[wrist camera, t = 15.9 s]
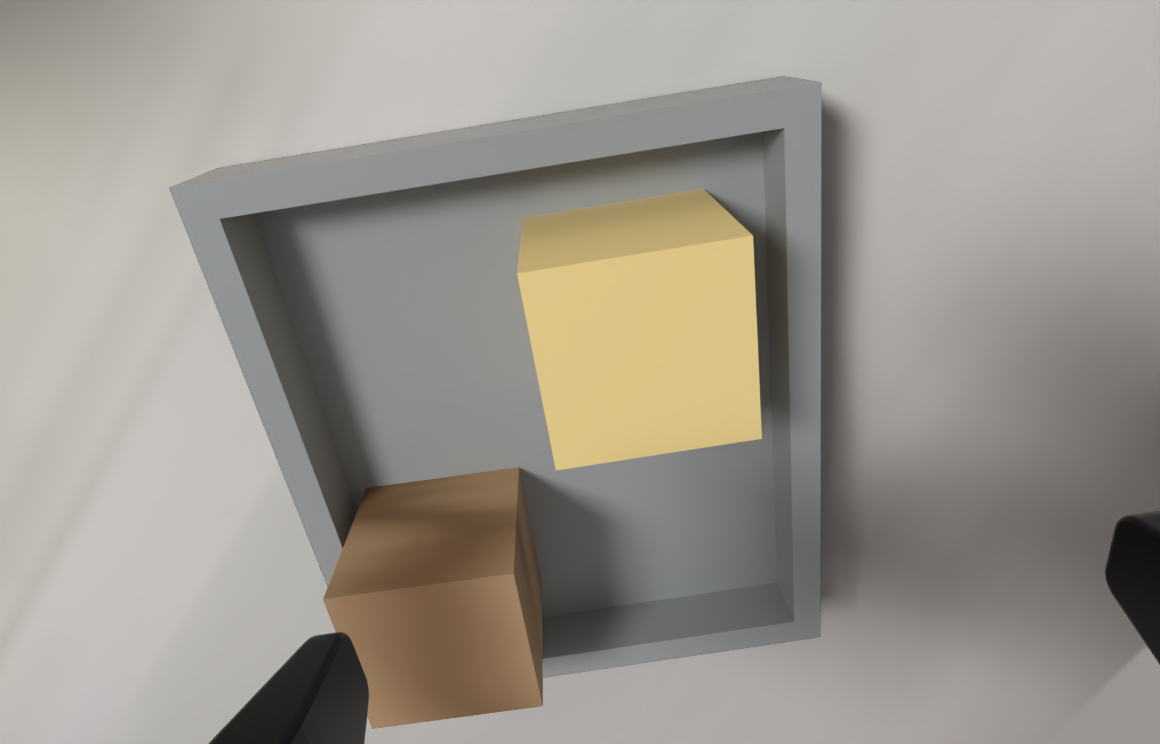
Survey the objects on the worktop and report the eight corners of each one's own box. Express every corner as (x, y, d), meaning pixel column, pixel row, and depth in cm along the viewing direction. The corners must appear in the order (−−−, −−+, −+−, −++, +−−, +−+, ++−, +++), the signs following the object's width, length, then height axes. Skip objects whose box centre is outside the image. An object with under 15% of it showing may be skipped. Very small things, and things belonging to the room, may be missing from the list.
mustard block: (553, 379, 19) (556, 470, 15) (522, 218, 17) (517, 273, 13) (715, 353, 19) (761, 438, 15) (703, 188, 17) (752, 235, 13)
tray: (389, 640, 24) (373, 702, 22) (217, 168, 17) (168, 187, 15) (794, 580, 24) (820, 636, 22) (784, 76, 17) (821, 82, 15)
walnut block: (403, 603, 22) (372, 728, 18) (366, 488, 21) (323, 599, 16) (542, 585, 22) (542, 706, 18) (518, 467, 21) (513, 573, 16)
